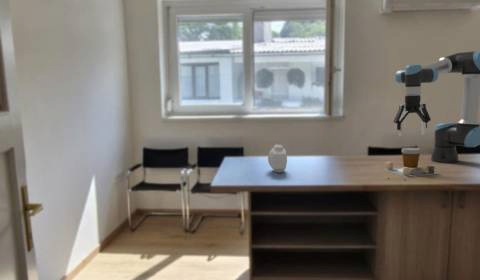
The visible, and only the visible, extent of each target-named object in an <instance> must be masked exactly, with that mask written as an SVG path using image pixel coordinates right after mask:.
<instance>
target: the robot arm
mask: <svg viewBox="0 0 480 280" xmlns="http://www.w3.org/2000/svg"><path fill="white" fill-rule="evenodd" d="M452 73H453V74H454V73H456V74H457V73H459V74H461V76H462V77H463V86H462V87H463V88H462V97H461V109H460V117H459V118H460V119H459V120H458V121H457V122H447V123H436V125H435V127H434V147H433V151H432V154H431V156H430V161H432V162H436V163H445V164H446V163H449V164H451V163H453V164H454V163H458V162H459V160H460V159H459V155H458V151H457V146H459V147H460V146H461V147H466V148H476V147H478V146H479V145H480V122H479V121H478V117H479V115H478V114H479V107H480V106H479V105H480V50H472V51H466V52H465V51H464V52H457V53H456V52H455V53H453V54H450V55H447V56H445V57H440V58H439V60H436V61H432V62H429V63H425V64H422V65H421V64H411V65H410V64H408V65H406V66H405V69H400V70H399V69H398V70H397V71H396V73H395V81H396V83H398V84H403V85H404V84H405V85H404V94H405V95H404V103H405V104H399V108H398V110H397V113H396V115H395V117H394V120H393V123H395V124H396V130H397V136H399V137H403V125H404V124H403V122H404V120H405V119H406V118H407V116H408V115H409V114H417V115H418V117H419V118H420V119H421V125H420V127H421V129H420V130H421V132H420V134H421V135H422V136H423V135H424V136H425V135H427V133H426V132H427V128H428V123H429V122H431V121H432V120H431V117H430V114H429V112H428V110H427V106H426V105H427V104H426V103H421V102H422V101H421V100H422V99H421V95H420V94H422V91H421V90H422V84H430V83H435V82H436V81H438V79H439V75H440V74H443V75H446V74H452Z"/></svg>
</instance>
